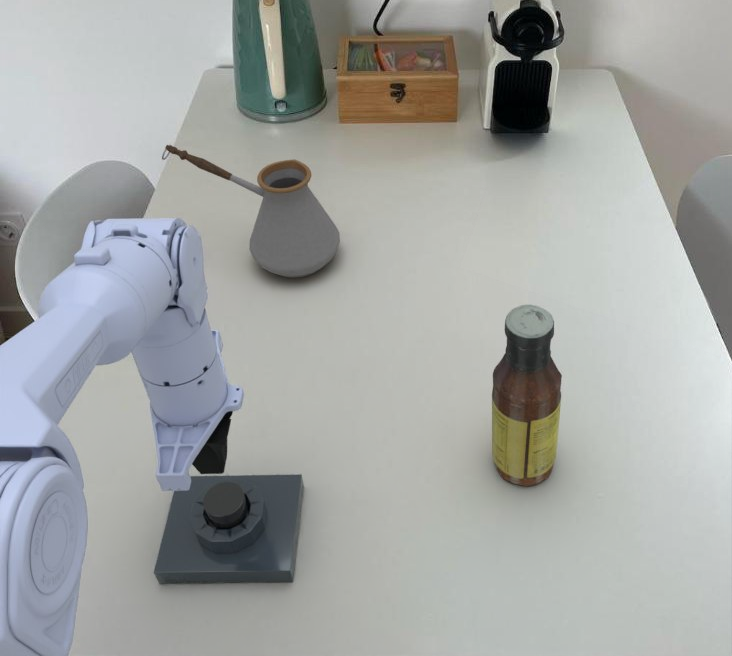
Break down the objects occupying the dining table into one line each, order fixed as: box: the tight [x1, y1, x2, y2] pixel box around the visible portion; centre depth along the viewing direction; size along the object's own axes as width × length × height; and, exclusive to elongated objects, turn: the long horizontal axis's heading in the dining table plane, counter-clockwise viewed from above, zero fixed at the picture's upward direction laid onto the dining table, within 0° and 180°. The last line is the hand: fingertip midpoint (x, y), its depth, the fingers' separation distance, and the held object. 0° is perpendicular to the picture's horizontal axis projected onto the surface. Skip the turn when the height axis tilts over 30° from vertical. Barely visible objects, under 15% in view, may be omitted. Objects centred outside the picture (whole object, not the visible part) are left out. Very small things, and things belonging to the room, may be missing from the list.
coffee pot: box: [161, 144, 341, 279], centre depth 101 cm, size 21×12×15 cm, turn 74°
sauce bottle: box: [491, 304, 563, 487], centre depth 73 cm, size 7×6×20 cm
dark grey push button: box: [203, 482, 248, 529], centre depth 72 cm, size 4×4×2 cm
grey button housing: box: [153, 473, 305, 585], centre depth 74 cm, size 12×10×4 cm
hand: (213, 467), depth 68 cm, fingers closed
